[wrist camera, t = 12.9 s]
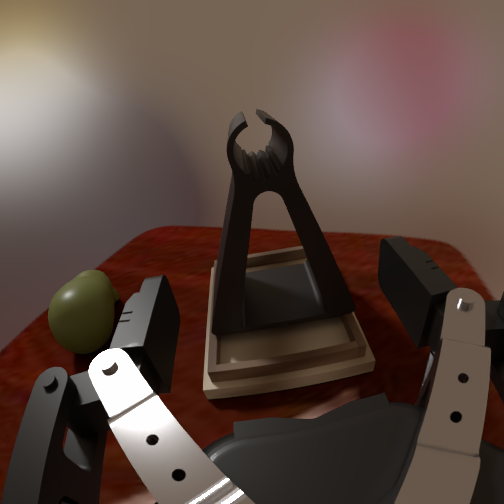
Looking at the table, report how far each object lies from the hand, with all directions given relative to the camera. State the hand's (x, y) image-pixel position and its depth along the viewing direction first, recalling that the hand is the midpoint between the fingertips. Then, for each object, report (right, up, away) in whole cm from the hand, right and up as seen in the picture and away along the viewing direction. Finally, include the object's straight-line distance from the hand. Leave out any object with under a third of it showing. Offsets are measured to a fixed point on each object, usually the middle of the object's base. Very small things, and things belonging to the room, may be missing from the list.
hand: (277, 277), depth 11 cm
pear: (-14, -6, +13) cm, 20 cm away
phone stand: (+1, -2, +10) cm, 10 cm away
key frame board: (+1, -4, +11) cm, 12 cm away
